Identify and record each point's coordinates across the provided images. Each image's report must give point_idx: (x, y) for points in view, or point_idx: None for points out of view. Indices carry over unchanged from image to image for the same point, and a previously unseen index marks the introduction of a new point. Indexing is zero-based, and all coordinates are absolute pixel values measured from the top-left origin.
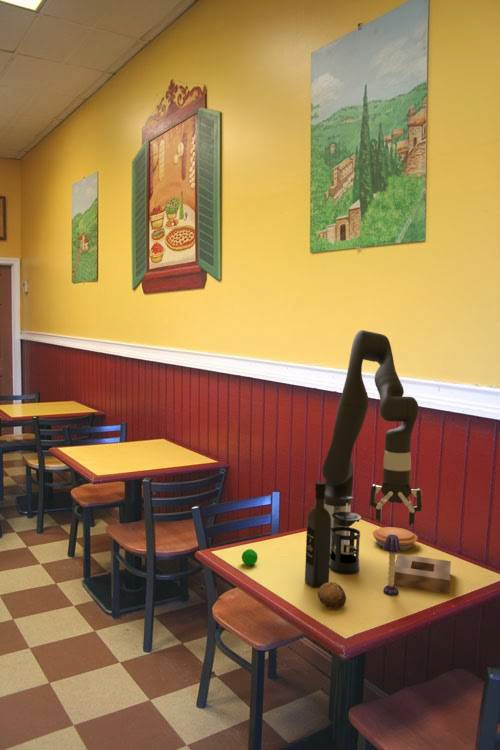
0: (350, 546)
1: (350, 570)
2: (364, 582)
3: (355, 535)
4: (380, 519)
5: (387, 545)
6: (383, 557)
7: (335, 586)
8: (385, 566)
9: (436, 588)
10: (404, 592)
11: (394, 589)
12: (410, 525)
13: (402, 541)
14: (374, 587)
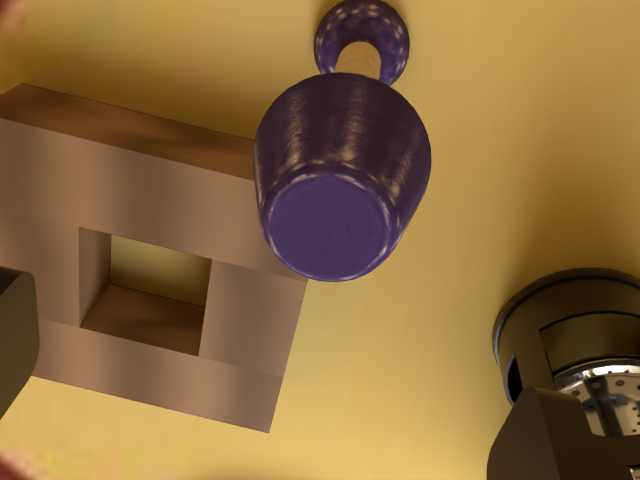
0: None
1: (566, 287)
2: (502, 173)
3: None
4: (545, 418)
5: (403, 133)
6: (338, 459)
7: None
8: (342, 374)
9: (82, 107)
10: (275, 62)
11: (340, 24)
12: (6, 269)
13: None
14: (454, 109)
